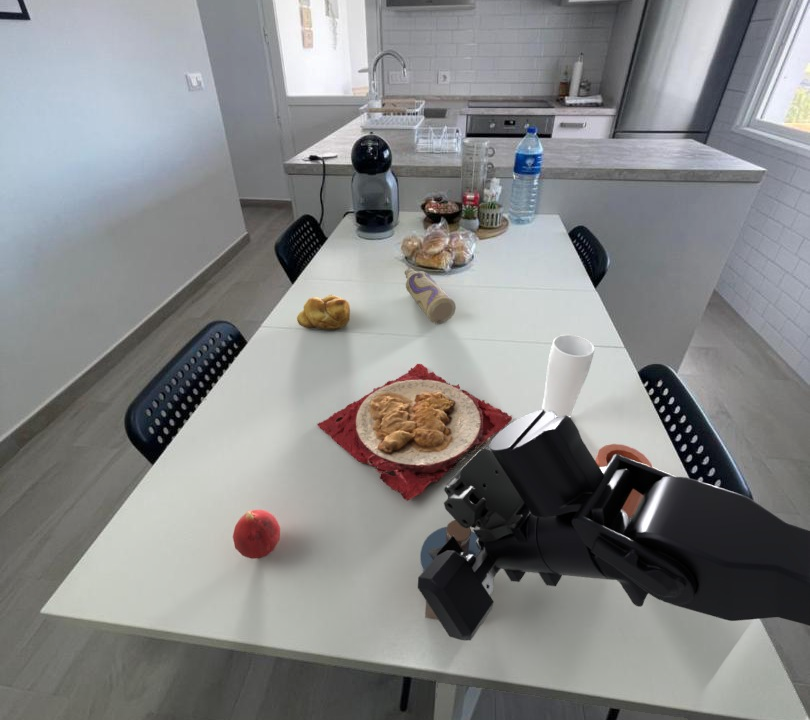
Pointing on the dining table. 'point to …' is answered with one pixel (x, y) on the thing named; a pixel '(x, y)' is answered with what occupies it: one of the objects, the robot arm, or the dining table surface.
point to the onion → (256, 534)
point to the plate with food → (414, 428)
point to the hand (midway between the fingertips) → (447, 536)
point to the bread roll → (325, 313)
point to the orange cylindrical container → (628, 452)
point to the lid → (442, 535)
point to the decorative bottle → (429, 296)
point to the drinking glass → (566, 373)
